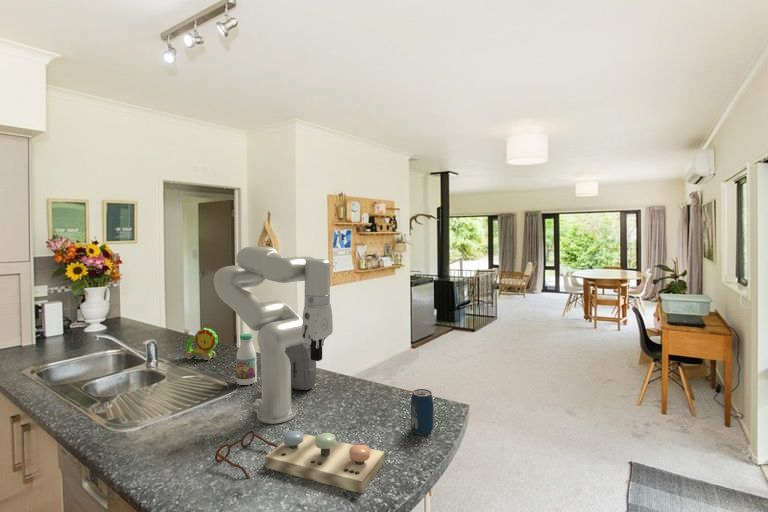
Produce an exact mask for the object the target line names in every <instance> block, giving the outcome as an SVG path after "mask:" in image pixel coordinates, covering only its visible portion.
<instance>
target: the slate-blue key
mask: <svg viewBox="0 0 768 512" xmlns="http://www.w3.org/2000/svg"><path fill="white" fill-rule="evenodd" d="M303 434H304V433H303V431H302V430H301V431H300V430H297V429H296V430H289V431H287V432H285V433H284V434H283V442H284V444H286V445H289V446H294V445H298V444H300V443H302V442H303Z"/></svg>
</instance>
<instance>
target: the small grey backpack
mask: <svg viewBox="0 0 768 512" xmlns="http://www.w3.org/2000/svg"><path fill="white" fill-rule="evenodd" d="M285 353H286V354H287V356H288V357H289V359H290V363H291V389H294V390H300V391H308V390H311V389H312V388H314V386H315V381H316V379H317V377H316V376H317V361H314V360H311V347H309V345H307V344H304V343H302V344H300V345H297V346H293V347H290V348H287V349H285Z"/></svg>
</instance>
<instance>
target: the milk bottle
mask: <svg viewBox="0 0 768 512" xmlns="http://www.w3.org/2000/svg"><path fill="white" fill-rule="evenodd" d="M239 341H240V345H239V348H238V350H237V352H236V383H237V385H238V384H239V385H238V386H240V385H248V386H251V385H250V384H252V385H254V384H253V383H255V382H256V383H257V380H258V375H257V374H258V373H257V372H258V371H257V365H258V364H257V352H256V350H255V347H254V345H253V342H252V341H253V335H252V333H241V334H240V335H239ZM256 383H255V384H256Z"/></svg>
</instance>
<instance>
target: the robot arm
mask: <svg viewBox="0 0 768 512" xmlns="http://www.w3.org/2000/svg"><path fill="white" fill-rule="evenodd" d="M235 260H236V263H237V265H228V266H224V267H221V268H219V269H218V270H217V271H216V272H215V273H214V276H213V285H214V290H215V292H216V294H217V295H218V297H219V299H220V300H221V301H222V302H224V303H225V304H226V305H227V306H229V308H231V310H233V311H234V312H235V314H236V315H237V316H238V317H239V318H240V319H241V320H242V322H244V324H245V325H246V326H247V327H248V328H249V329H250V330H252V331H253V332H257V345H258V349H259V353H260V367H261V369H260V370H261V371H260V373H261V374H260V375H261V398H256V399H255V401H254V403H253V407H254V408H258V409H259V410H258V412H257V414H256V418H257V420H258V421H259V422H261V423H262V424H270V425H275V424H282V423H285V422H288V421H290V420H292V419H294V417H295V416H296V415H297V410H296V408H295V407H294V406H292V388H291V363H290V359H289V357H288V356H287V354H286V353H285V349H287V348H290V347H293V346H297V345H300V344H302V343H304V344H307V345H309V347H311V360H314V361H316V362H320V361H322V360H323V347H324V343H325V340H326V339H327V338H329V336H331V335H332V334H333V329H334V328H333V326H334V325H333V311H332V304H331V302H330V301H331V300H330V298H331V296H330V295H331V262H330V261H329V260H328V259H325V258H314V257H311V256H293V257H282V256H281V255H280V254H279V252H278V251H277V250H276V249H275V248H274V247H272V246H268V245H265V246H262V245H261V246H259V245H258V246H256V245H255V246H247V247H242V249H240V250H239V251H238V252H237V254H236V258H235ZM265 280H269V281H272V282H276V283H282V284H288V283H297V282H303V281H304V306H303V310H302V311H303V313H302V317H301V316H300V315H299V314H298V313H297V312H296V311H295V310H294V309H293V308H291V306H289V305H288V304H287V303H286V302H284V301H282V300H270V301H261V300H260V299H258V297H256V296H255V294H253V293H252V292H250V291H249V290H247V288H254V287H257V286H260V285H262V283H263V282H265Z"/></svg>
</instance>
